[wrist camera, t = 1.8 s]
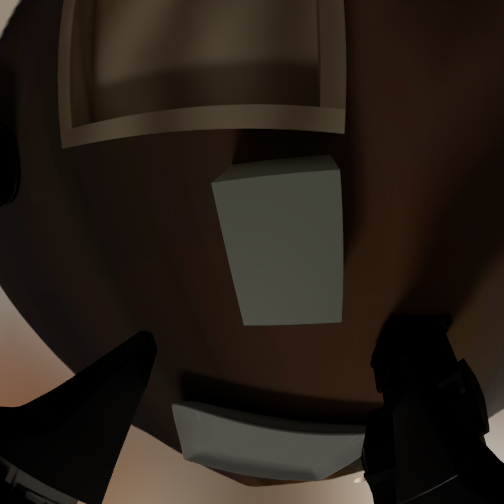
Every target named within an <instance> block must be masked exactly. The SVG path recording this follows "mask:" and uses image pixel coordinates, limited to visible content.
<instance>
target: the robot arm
mask: <svg viewBox="0 0 504 504" xmlns="http://www.w3.org/2000/svg"><path fill="white" fill-rule="evenodd" d="M393 321H395V322H393ZM451 323H452V318H451V316H449V315H445V316H416V315H393V316H391V317H390V318H389V320H388V322H387V325H386V327H385V330H384V332H383V335H382V336H381V337H380V338H379V340H378V342H377V345H376V347H375V349H374V352H373V354H372V360H371V362H370V364H371V367H372V368H373V369H374V375H375V382H376V388H377V391H378V393H383V399H384V406H383V407H381V408H379V409H377V410H376V409H374V410H372V411H370V412H369V414H368V420H367V426H366V432H365V437H364V442H363V447H362V453H361V461H362V466H363V469H364V471H365V473H364V478H365V479H366V481H367V483H368V484H369V486H370V489H371V492H372V495H373V500H374V504H504V463H503V462H502V461H500V460H499V459H498V458H497V457H496V455H495V454H494V453H493V452H492V451H491V450H490V449H489V448H488V447H487V446H486V442H485V438H484V435H485V434H486V433H488V432H489V423H488V415H487V409H486V403H485V398H484V395H483V392H482V390H481V387H480V385H479V382H478V380H477V378H476V376H475V374H474V373H473V371H472V370H471V368H470V367H469V365H468V364H467V362H466V361H465V359H464V358H463V359H461V360H460V361H458V362H457V359H456V357H455V354H454V352H453V349H452V347H451V345H450V342H449V340H448V338H447V335H446V333H447V331H448V329H449V327H450V325H451ZM156 354H157V346H156V343H155V340H154V337H153V334H152V333H151V332H147V331H140V332H139V333H137V334H136V335H134V336H133V337H131V338H130V339H128V340H127V341H125V342H124V343H122V344H121V345H119V346H118V347H116V348H115V349H113V350H112V351H110V352H109V353H108V354H106V355H105V356H103V357H102V358H100V359H99V360H97V361H96V362H94V363H93V364H91V365H90V366H88V367H87V368H85V369H84V370H82V371H81V372H79V373H78V374H76V375H75V376H74V377H73V378H71V379H69V380H67V381H66V382H65V383H63V384H61V385H60V386H58V387H57V388H55V389H53V390H51V391H49V392H48V393H46V394H44V395H42V396H40V397H38V398H36V399H34V400H33V401H31V402H29V403H27V404H25V405H22V406H19V407H0V504H77V502H78V500H79V501H81V502H84V503H86V504H102V501H103V499H104V496H105V493H106V490H107V487H108V484H109V481H110V479H111V476H112V473H113V469H114V467H115V465H116V462H117V459H118V457H119V454H120V451H121V449H122V446H123V444H124V441H125V438H126V436H127V433H128V431H129V428H130V426H131V423H132V421H133V418H134V416H135V413H136V411H137V408H138V406H139V404H140V401H141V399H142V396H143V394H144V392H145V389H146V387H147V384H148V380H149V377H150V374H151V370H152V367H153V363H154V360H155V357H156Z"/></svg>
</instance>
